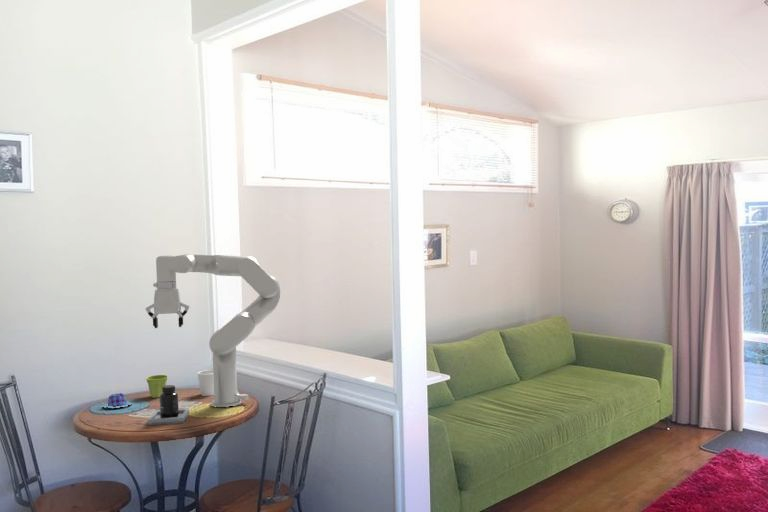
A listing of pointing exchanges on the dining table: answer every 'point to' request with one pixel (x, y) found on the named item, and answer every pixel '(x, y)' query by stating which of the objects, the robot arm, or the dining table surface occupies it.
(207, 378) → the dixie cup
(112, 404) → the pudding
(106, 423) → the dining table surface
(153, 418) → the tray
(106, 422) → the dining table surface
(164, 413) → the supplement bottle
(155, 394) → the plant pot
